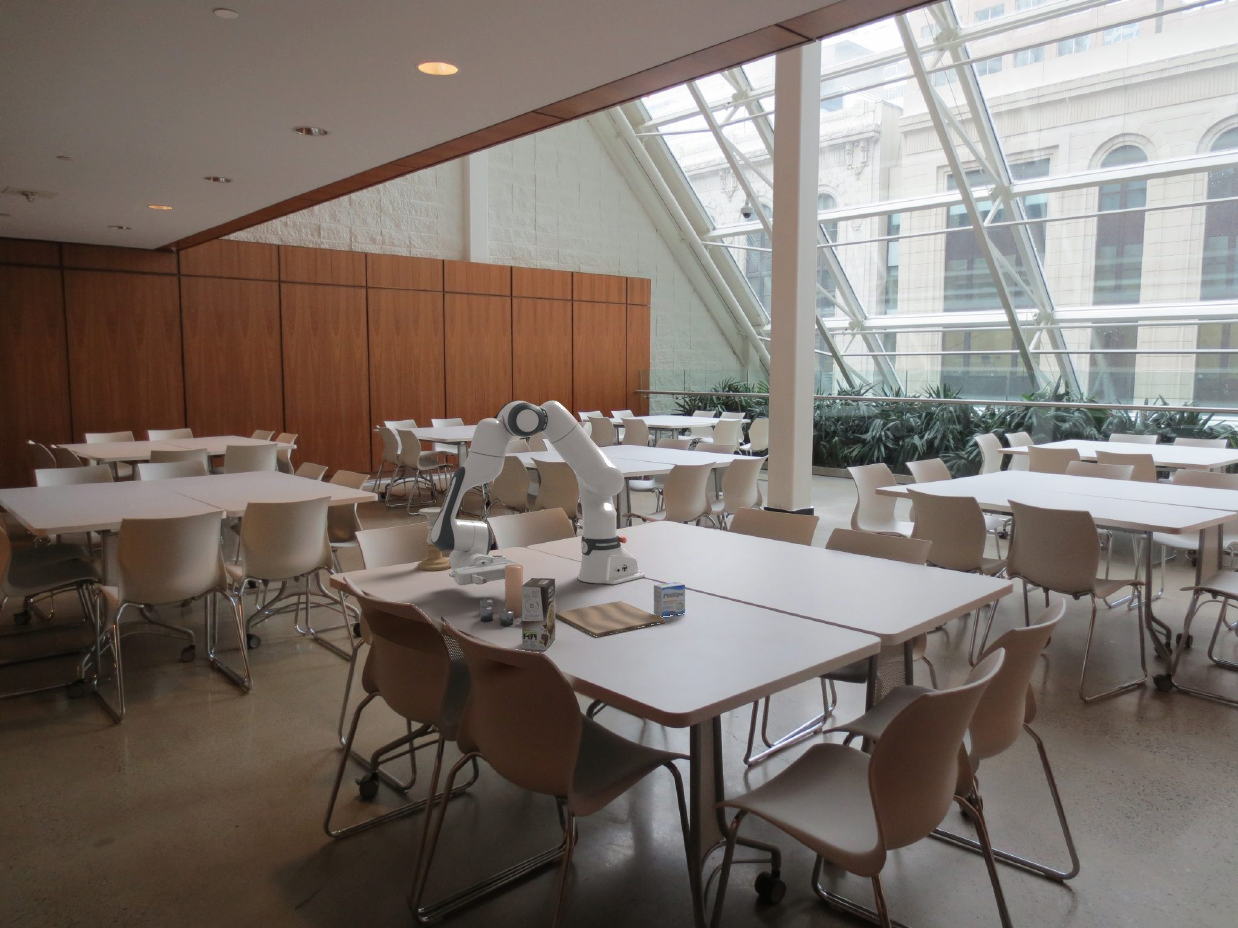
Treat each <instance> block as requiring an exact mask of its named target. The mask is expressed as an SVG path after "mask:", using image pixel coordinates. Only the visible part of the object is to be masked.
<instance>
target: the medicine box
mask: <svg viewBox="0 0 1238 928" xmlns="http://www.w3.org/2000/svg"><path fill="white" fill-rule="evenodd" d="M654 613H655V614H656V615H655V614H654ZM683 613H686V585H685V584H684V583H681V582H679V581H675V582H668V583H660V584H654V585H653V614H654V615H655V616H657V615H658V617H659V616H661V617H663V616H670V615H677V616H679V615H678V614H683ZM683 615H684V614H683ZM661 617H660V618H661Z"/></svg>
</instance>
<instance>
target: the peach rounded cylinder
mask: <svg viewBox="0 0 1238 928" xmlns="http://www.w3.org/2000/svg"><path fill="white" fill-rule="evenodd" d="M523 585H524V566H523V565H522V564H520V565H518V564H512V565H506V566H505V579H504V592H505V593H504V595H505V596H504V600H505V601H504V602H505V603H504V604H505V606H504V608H505V609H504V610H512V611H513V616H514V619H515V618H517V619H518V618H522V586H523Z"/></svg>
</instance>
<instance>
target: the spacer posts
mask: <svg viewBox="0 0 1238 928" xmlns="http://www.w3.org/2000/svg"><path fill="white" fill-rule="evenodd" d="M514 619H515V618H514V616H513V611H512V610H505V609H504V610H500V611H499V625H500V626H502V627H511V626H514V623H515V622H514ZM479 621H480V622H482V623H489V622H493V621H494V600H493V599H491V598H483V599H480V601H479Z"/></svg>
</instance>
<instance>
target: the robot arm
mask: <svg viewBox="0 0 1238 928" xmlns="http://www.w3.org/2000/svg"><path fill="white" fill-rule="evenodd" d="M539 433H542V435H543V436H545V439H547V440H548V442H549V443H550V444H551V446H552V447H553V448H554V449H555V451H556V452H557V453H558V455H559V456H560V457H561V458H562V459H563V461H564V462H565V463H566V464H567V465H568V466H569V467H570V468H571V469H572V470H573V471H574V472H575V477H576V481H577V485H578V491H579V492H578V493H579V498H580V504H581V510H582V536H581V542H580V543H581V544H580V545H581V562H580V563H581V564H580V568H579V573H578V576H577V579H578V580H579V581H581V582H585V583H592V584H607V585H618V584H621V583H625V582H628V581H629V582H630V581H633V580H634V581H635V580H638V579H641V578H645V577H646V574H645V572H644V571H643V570H641V569H639V565H638V560H637V558H636V557H635V556H634V555H633V554H632V553H630V552H629V551H628V550H627V549H625V548H624V547H623V546H622V544H626V543H627V542H628V539H627V537H626V536H618V535H617V510H616V508H615V505H614V504H615V503H614V500H613V497H614V496H617V495H619V493H620V492H622V490H623V488H624V486H625V475H624V472H622V471H621V470H620V469H619V467H617V465H616V464H615V463H614V461H612V459H610V457H609V456H608V455H607V454H606V453H605V452H604V451H603V450H602V449H601V447H599V446H598V445H597V444H596V443H595V441H594V440H593V439H592V438H591V436H589V435H588V433H587V431H586V430H585V429H584V427H582V425H581V424H580V423H579V421H578V420H577V419H576V418H575V417H574V415H572V413H571V412H570V411H569V410H568V409H567V408H566V407H565V406H563V404H561V402H559V401H557V400H548V401H546V402H543V403H542V404H541V405H539V406H538V405H535V404H533V403H530V402H528V401H525V400H511V401H509V402H507V403H505V404H504V405H503V406H502V407H501V408H500V409H499V411H498V412H497V413H496V415H495V416H493V417H487V418H483V419H480V420H479V421H478V422H477V425H476V428H475V430H474V432H473V436H472V437H471V438H472V439H471V443H470V447H469V452H468V455H467V458H466V460H465V462H464V463H463V464H462V465H461V466H460V467H457V469H455V471H454V473H453V474H452V477H451V480H450V482H449V485H448V487H447V491H446V494H445V496H444V499H443V501H442V505H441V507H440V508H441V510H440V513H439V515H438V517H437V519H436V521H435V523H434V525H433V528H432V531H431V541H432V543H433V544H434V545H435V547H436V548H437V549H439V550H440V551H442V552H450V553H449V556H448V559H449V564H450V566H451V568H450V569H451V570H452V572H449V573H448V576H449V577H450V578H452V579H453V581H454V582H455V583H456V584H457V585H459V586H467V585H474V584H475V585H484V584H487V583H488V582H493V581H500V580H505V566H506V565H512V564H518V565H521V564H520V563H519V562H517V561H515V560H512V559H509V558H507V556H505V555H489V553H490V551H491V548H492V546H493V534H492V533H493V532H492V531H491V528H490V527H489V525H488V524H487V523H486V522H485V521H481V520H471V519H470V520H467V519H466V520H465V519H457V518H456V516H457V514H458V510H459V508H460V505H461V502H462V500H463V497H464V495H465V493H466V492H467V491H469V490H470V489H471V488H474V487H476V486H480V485H484V484H488V483H490V482H492V481H494V480H495V479H497V478H498V477H499V476H500V475H501V473H502V471H503V468H504V464H505V459H506V455H507V447H508V445H509V442H510V441H511V439H512V438H514V437H521V438H529V437H532V436H534V435H537V434H539Z"/></svg>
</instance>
